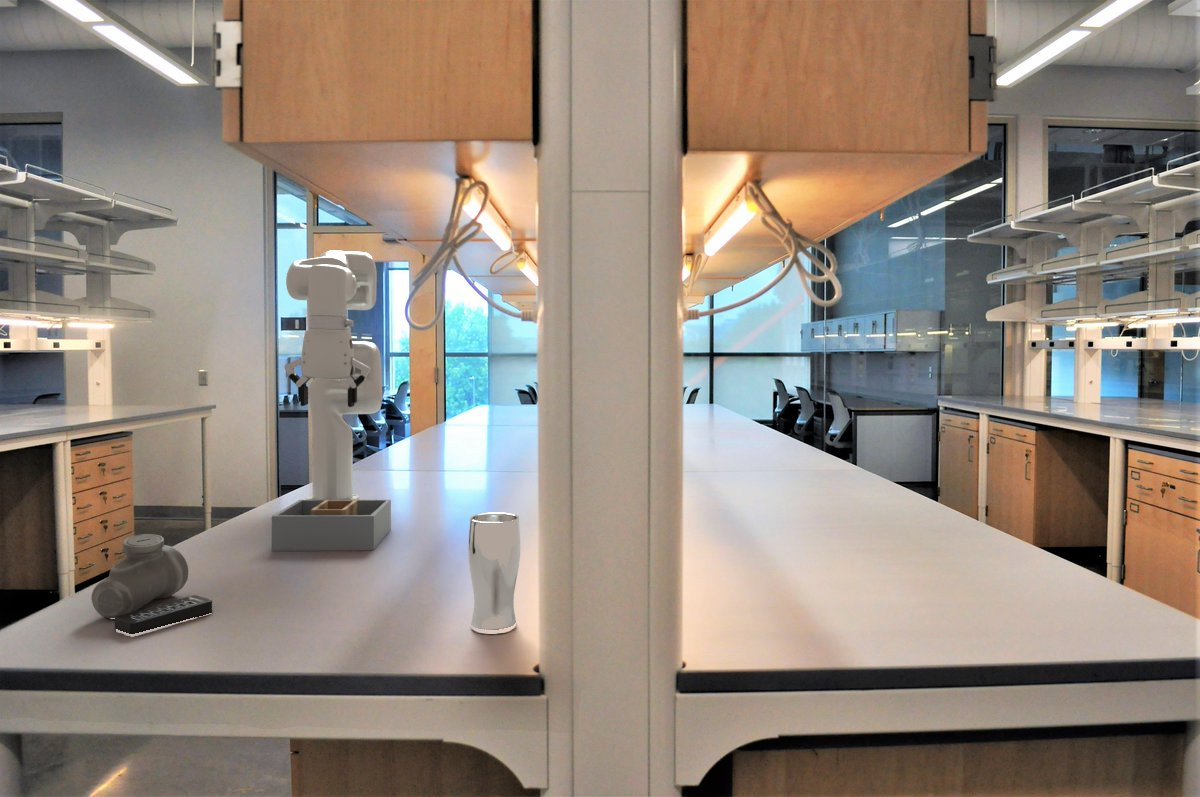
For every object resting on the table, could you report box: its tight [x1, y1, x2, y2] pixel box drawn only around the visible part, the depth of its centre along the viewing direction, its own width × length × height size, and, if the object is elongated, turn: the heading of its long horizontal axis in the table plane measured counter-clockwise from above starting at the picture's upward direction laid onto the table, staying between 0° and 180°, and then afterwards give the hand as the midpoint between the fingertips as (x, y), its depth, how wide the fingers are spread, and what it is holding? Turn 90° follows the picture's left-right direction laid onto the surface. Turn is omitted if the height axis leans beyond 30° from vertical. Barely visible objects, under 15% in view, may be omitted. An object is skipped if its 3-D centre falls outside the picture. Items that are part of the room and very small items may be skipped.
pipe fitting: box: [90, 533, 189, 619], centre depth 105 cm, size 12×8×10 cm
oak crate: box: [311, 500, 357, 515], centre depth 147 cm, size 10×6×6 cm, turn 5°
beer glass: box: [467, 512, 521, 630], centre depth 100 cm, size 7×7×15 cm
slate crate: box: [271, 499, 392, 552], centre depth 147 cm, size 17×19×6 cm
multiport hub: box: [114, 594, 213, 634], centre depth 100 cm, size 4×11×2 cm, turn 150°
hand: (327, 405), depth 157 cm, fingers open, 9 cm apart
